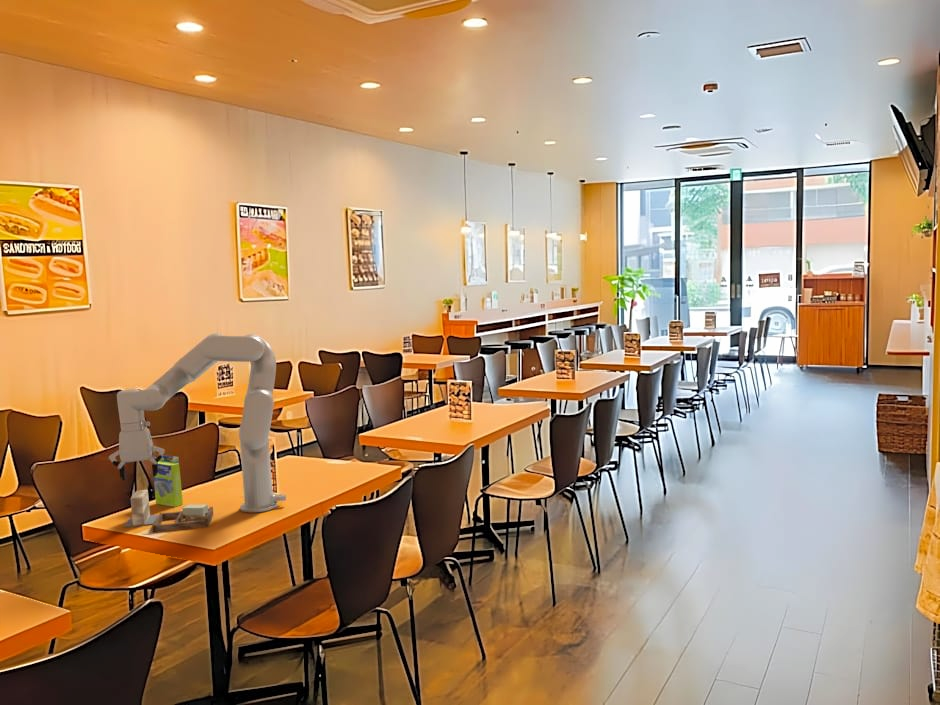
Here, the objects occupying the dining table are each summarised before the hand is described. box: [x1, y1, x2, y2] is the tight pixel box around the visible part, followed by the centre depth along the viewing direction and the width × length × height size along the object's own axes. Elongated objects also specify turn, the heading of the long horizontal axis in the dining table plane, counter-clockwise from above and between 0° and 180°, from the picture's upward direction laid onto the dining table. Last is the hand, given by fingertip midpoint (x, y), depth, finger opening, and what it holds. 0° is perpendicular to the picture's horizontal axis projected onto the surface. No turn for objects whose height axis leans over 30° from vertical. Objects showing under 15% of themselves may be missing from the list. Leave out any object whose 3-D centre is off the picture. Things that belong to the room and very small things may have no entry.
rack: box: [151, 506, 214, 533], centre depth 260 cm, size 17×14×2 cm
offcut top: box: [182, 504, 209, 515], centre depth 261 cm, size 4×7×2 cm, turn 82°
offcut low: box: [185, 515, 206, 522], centre depth 261 cm, size 4×9×3 cm, turn 33°
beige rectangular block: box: [130, 489, 151, 525], centre depth 263 cm, size 4×10×9 cm, turn 12°
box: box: [153, 454, 184, 508], centre depth 282 cm, size 10×4×17 cm, turn 58°
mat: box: [123, 514, 159, 528], centre depth 264 cm, size 9×10×1 cm
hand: (140, 477), depth 262 cm, fingers open, 9 cm apart
